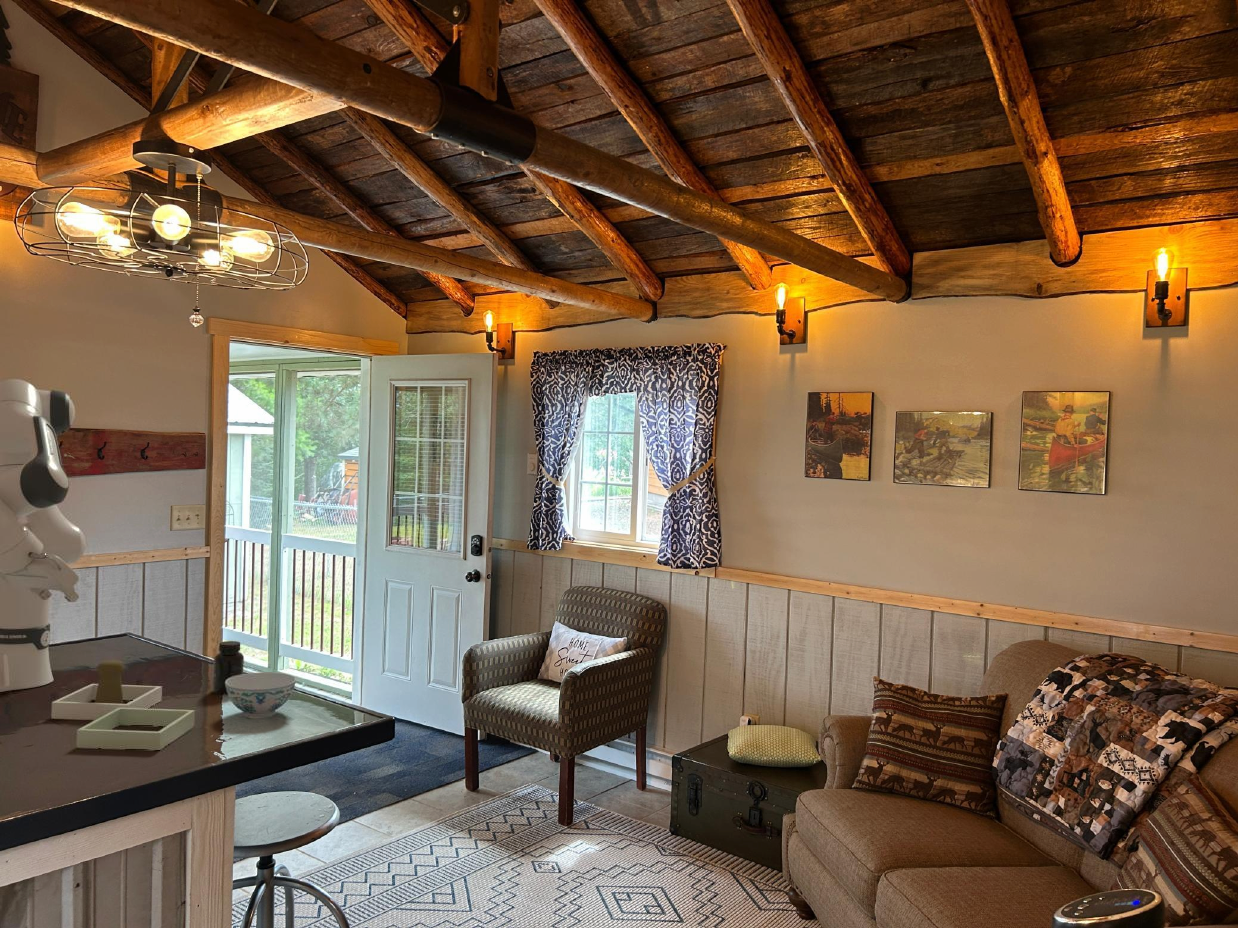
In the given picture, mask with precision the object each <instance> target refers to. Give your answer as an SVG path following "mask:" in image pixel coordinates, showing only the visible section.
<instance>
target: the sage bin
mask: <svg viewBox="0 0 1238 928" xmlns="http://www.w3.org/2000/svg"><path fill="white" fill-rule="evenodd" d="M195 715H196V711H195V710H194V709H193V710H192V709H172V708H171V709H169V708H168V709H167V708H149V709H145V708H117V709H115V710H113V711H111V712H109V713H108V714H106V715H104V716H102V717H100V718H98V719H97V720H92V721H91V722H90V723H88V724H86V725H83V726H82V727H80V728H77V730H76V746H75V747H76V748H75V749H96V750H97V749H98V748H101V750H125V749H149V750H148V751H154V750H160V751H162V750H163V749H164V748H166V747H168V744H169V745H170V744H171V743H173V742H175V741H176V740H177V739H178V738H180V737H181V736H183V735H185V733H187V732H188V731H190V730H191V729H193V728H194V727H195ZM131 725H153V726H152V727H158V726H163V728H162V729H160V730H159V731H155V730H154V731H151V730H125V729H116V728H117V727H119V726H131ZM164 726H165V727H164ZM115 727H116V728H115ZM113 728H114V729H113ZM165 746H166V747H165ZM98 750H99V749H98Z"/></svg>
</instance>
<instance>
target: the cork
mask: <svg viewBox="0 0 1238 928" xmlns="http://www.w3.org/2000/svg"><path fill="white" fill-rule="evenodd" d="M124 669H125V667H124V663H123V662H122V661H121V660H118V659H117V660H116V659H108V660H103V661H101V662H100V663H99V664H98V665H97V669H96V671H97V675H98V676H99V678H98V679H99V680H98V683H97V684H98V688H97V693H96V698H95V700H94V703H112V704H124V701H123V695H122V685H123V684H122V680H121V679H122V677H121V676H122V674H123V672H124Z"/></svg>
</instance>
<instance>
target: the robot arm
mask: <svg viewBox="0 0 1238 928" xmlns="http://www.w3.org/2000/svg"><path fill="white" fill-rule="evenodd" d="M75 417H76V408H75V405H74V403H73V400H72V399H71V396H70V395H69V394H68V393H67V392H64V391H60V390H55V389H51V390H45V389H43V390H42V389H37V388H36V387H35V386H34V385H32V383H29V382H28V381H25V380H22V379H18V378H17V379H15V378H14V379H13V378H12V379H11V378H10V379H7V380H3V381H0V693H2V692H7V691H13V690H15V691H17V690H24V689H31V688H37V687H41V686H45V685H47V684H51V683H52V682H54V677H53V672H52V668H51V663H50V655H49V647H50V641H51V624H50V623H49V621H50V620H49V619H50V618H49V617H50V598H51V597H52V595H53V594H52V592H51V591H60V593H63V594H64V599H65V600H66V601H67V602H69V603H76V601H78V600H79V599H80V596H79V594H78V593H77V592H76V590H75V585H77V584H78V583H79V581H80V577H79V575H78V573H77V572H76V571H74V570H73V569H72V567H70V565H73V564H76V563H77V562H78V561H80V559H81V558H82V557H83V555H84V554H85V550H86V544H87V541H86V537H85V534H84V533H83V531H82V530H81V528H80V527H78V526H77V525H75V524H74V523H72V522H71V521H70V520H68V519H67V518H66V517H65V516H64V515H63V513H62V512H61V510H60V509H59V507H58V504H61V503H63V502H64V500H65V499H66V497H67V494H68V492H69V489H70V488H69V487H70V481H69V479H68V475H67V474H66V472H65V469H64V467H63V466H64V465H63V462H62V456H61V451H60V446H59V442H58V437H59V436H60V435H63V434H65V433H67V432H68V431H69V429H71V427H72V424H73V422H74V421H75ZM24 517H25V518H26V522H25V523H21V522H20V521H19V519H22V518H24Z"/></svg>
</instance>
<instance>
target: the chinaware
mask: <svg viewBox="0 0 1238 928" xmlns="http://www.w3.org/2000/svg"><path fill="white" fill-rule="evenodd" d="M296 683H297V677H295V676H293V675H291V674H288V673H283V672H267V671H266V672H250V673H243V674H242V675H237V676H234V677H231V678H229V679H227V680H226V681H225V686H226V691H227V694H226V695H227V696H228V698H229V700H230V702H231V703H232V704H233V706H234V707H235V708H237V709H238V710H240V711H241V712H243V715H242V716H244V717H246V718H250V719H263V718H269V717H272V716H274V715H275V714H276V711H277V710H278V709H280V708H281V707H282V706H283V705H284V704H285V703H286V702H287V701H288V700H289V699H290V697H291V696H292V693H293V691H294V689H295V687H296V686H295V685H296Z"/></svg>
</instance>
